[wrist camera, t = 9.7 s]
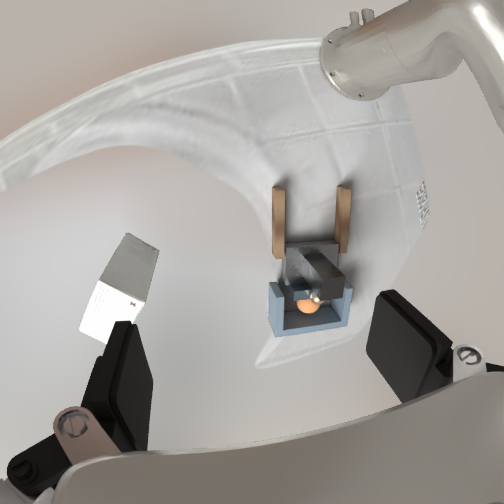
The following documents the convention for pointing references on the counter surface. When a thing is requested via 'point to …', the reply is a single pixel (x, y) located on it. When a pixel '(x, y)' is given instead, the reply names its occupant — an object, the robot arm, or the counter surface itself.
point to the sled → (312, 271)
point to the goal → (307, 314)
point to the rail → (340, 220)
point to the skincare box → (120, 288)
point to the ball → (307, 306)
